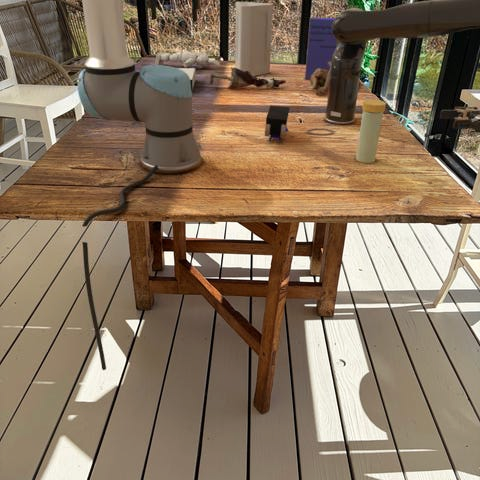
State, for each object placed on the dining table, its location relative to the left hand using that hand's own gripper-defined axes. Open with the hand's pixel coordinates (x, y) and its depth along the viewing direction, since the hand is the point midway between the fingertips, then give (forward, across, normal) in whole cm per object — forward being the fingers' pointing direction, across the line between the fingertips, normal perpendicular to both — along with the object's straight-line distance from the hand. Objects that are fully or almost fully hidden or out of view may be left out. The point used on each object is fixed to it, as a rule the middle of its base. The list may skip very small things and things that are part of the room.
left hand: (174, 20), depth 152 cm
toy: (+28, +16, -66) cm, 73 cm away
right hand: (+17, -82, +31) cm, 89 cm away
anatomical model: (+28, -47, -35) cm, 65 cm away
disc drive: (+28, +12, -29) cm, 42 cm away
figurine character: (+28, -37, +23) cm, 52 cm away
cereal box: (+28, -48, -59) cm, 81 cm away
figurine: (+28, -18, -34) cm, 47 cm away
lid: (+13, -63, +35) cm, 73 cm away
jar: (+28, -63, +35) cm, 77 cm away
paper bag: (+28, -16, -63) cm, 71 cm away
